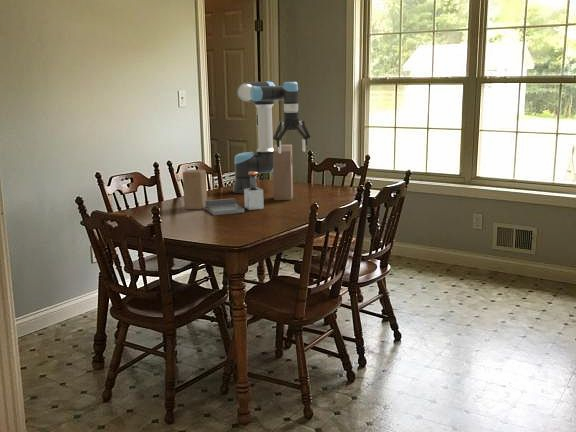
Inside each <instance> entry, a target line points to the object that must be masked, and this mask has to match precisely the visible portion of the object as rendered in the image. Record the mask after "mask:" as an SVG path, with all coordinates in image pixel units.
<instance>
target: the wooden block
mask: <svg viewBox="0 0 576 432" xmlns="http://www.w3.org/2000/svg"><path fill="white" fill-rule="evenodd" d="M182 185H183V201H184V202H183V204H184V209H185V210H193V211H194V210H198V211H202V210H203V209H206V204H205V201H208V191H207V190H208V189H207V188H208V185H207V172H206V170H205V169H187V170H186V171H183V172H182Z"/></svg>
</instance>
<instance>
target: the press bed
mask: <svg viewBox="0 0 576 432" xmlns="http://www.w3.org/2000/svg"><path fill="white" fill-rule="evenodd" d="M205 204H206V207H205V210H206V211H207V212H209V213H210V214H211V215H212V216H223V215H231V214H233V215H234V214H244V213H245V207H242V206H241V205H239V204H238V203H236V198H231V197H230V198H224V199H223V198H220V199H211V200H210V199H209V200H208V199H207V201H205Z"/></svg>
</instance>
